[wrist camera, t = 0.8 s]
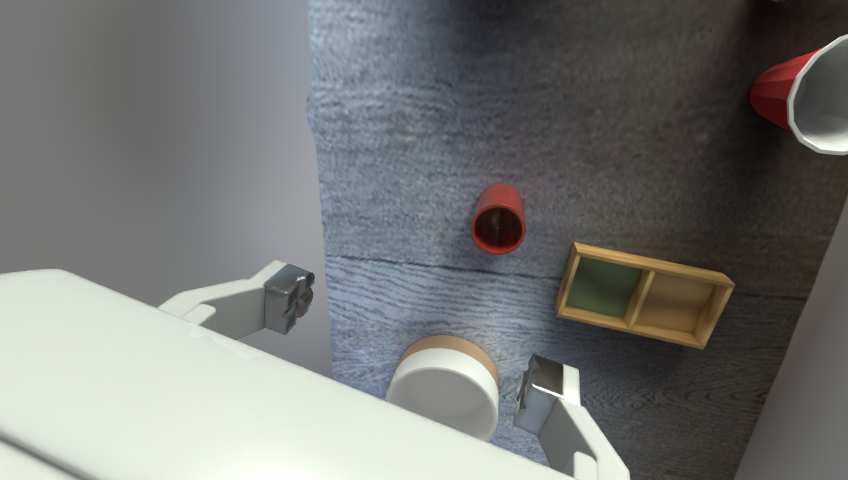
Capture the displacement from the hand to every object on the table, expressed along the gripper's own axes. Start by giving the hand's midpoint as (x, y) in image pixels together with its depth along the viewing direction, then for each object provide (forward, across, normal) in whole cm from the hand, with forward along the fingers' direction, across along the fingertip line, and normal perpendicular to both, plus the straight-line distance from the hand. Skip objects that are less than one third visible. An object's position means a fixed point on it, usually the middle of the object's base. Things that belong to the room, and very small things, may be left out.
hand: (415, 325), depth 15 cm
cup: (+45, -1, +13) cm, 47 cm away
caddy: (+46, -22, +19) cm, 54 cm away
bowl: (+41, -1, +44) cm, 60 cm away
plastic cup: (+50, -27, -9) cm, 57 cm away
